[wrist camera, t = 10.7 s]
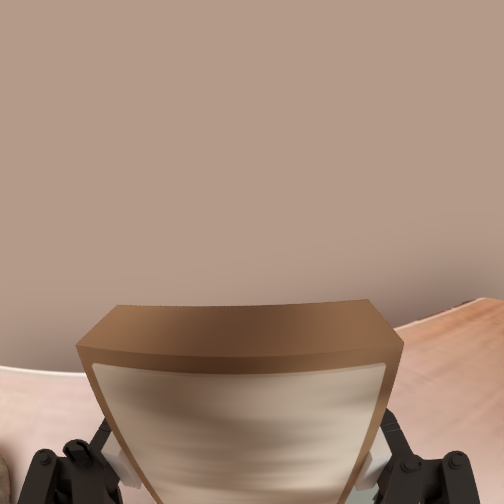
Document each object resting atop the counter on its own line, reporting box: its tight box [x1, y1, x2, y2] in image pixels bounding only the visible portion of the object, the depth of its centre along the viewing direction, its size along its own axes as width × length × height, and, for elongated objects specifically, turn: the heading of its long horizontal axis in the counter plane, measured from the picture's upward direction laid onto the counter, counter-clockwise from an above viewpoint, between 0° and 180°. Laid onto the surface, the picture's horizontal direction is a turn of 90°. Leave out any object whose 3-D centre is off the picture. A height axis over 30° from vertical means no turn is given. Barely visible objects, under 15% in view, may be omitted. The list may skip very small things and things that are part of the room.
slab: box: [76, 299, 404, 504], centre depth 9 cm, size 9×3×14 cm, turn 89°
